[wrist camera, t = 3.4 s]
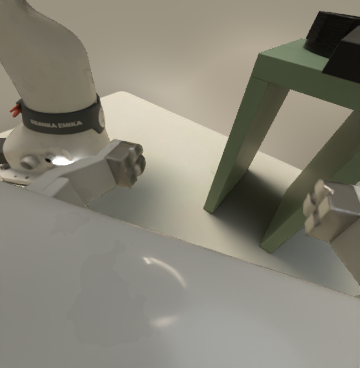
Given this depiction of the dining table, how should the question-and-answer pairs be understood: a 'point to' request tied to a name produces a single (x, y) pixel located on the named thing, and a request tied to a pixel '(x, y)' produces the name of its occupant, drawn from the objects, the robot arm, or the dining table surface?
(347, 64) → the pan
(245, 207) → the dining table surface
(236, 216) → the dining table surface
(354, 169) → the green hollow pedestal
